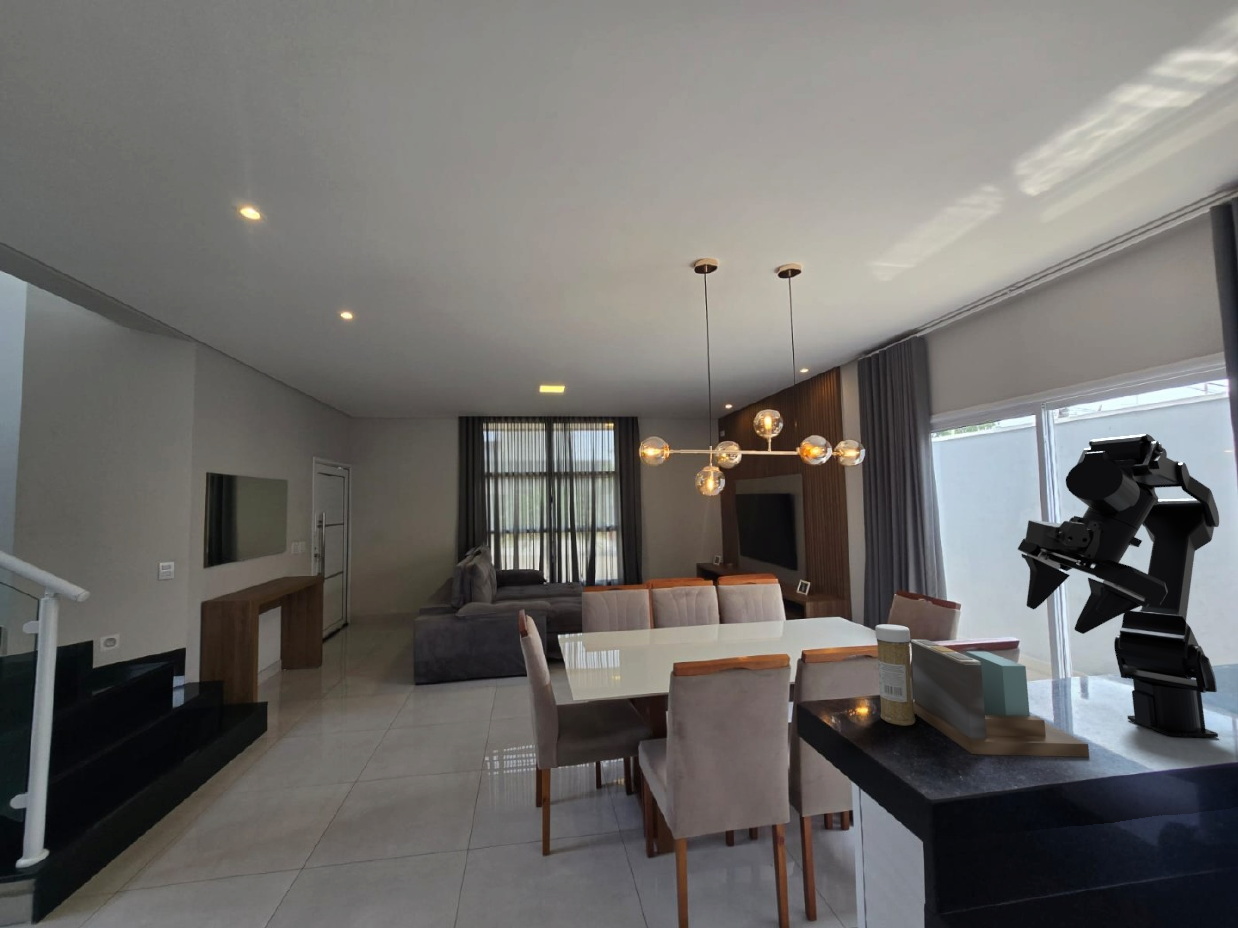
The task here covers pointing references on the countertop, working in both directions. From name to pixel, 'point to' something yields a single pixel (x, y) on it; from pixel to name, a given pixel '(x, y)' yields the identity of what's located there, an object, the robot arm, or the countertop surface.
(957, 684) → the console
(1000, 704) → the paddle button
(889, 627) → the sprinkles bottle
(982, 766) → the countertop surface
